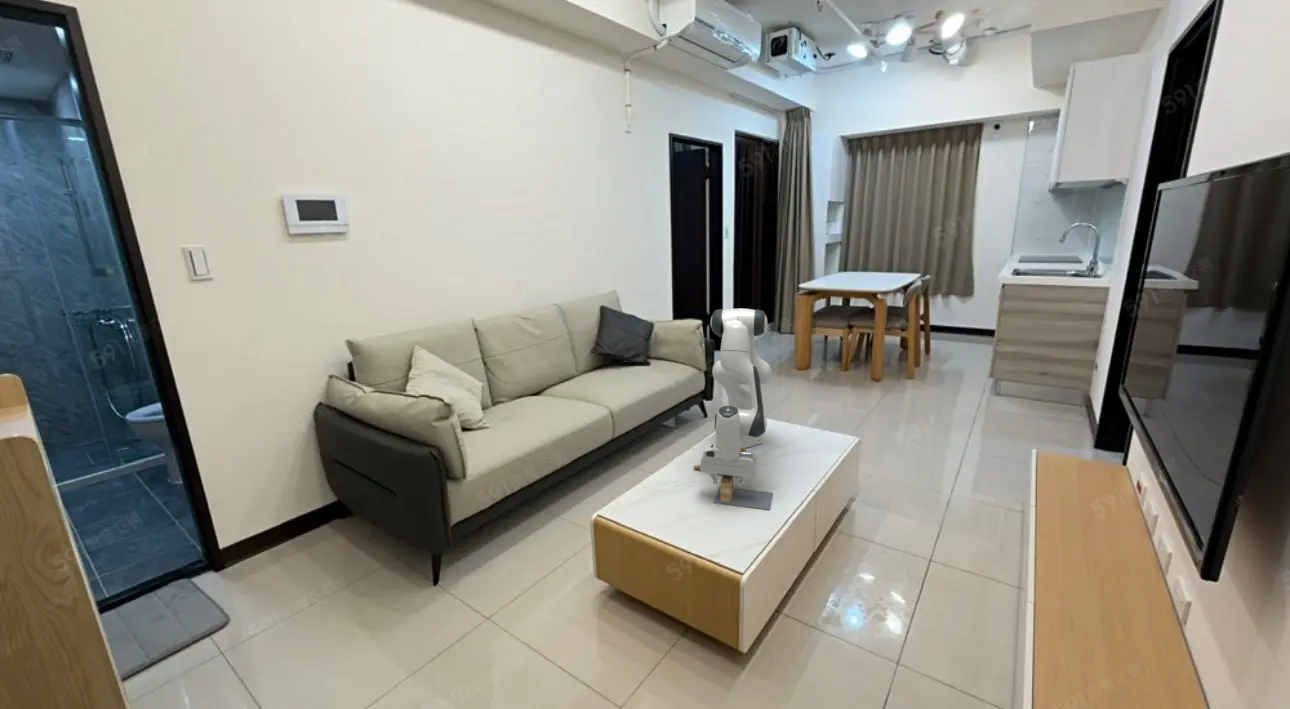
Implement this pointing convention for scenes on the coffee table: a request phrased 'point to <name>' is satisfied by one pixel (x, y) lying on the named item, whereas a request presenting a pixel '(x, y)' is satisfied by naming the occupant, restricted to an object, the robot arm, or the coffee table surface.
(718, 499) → the mat
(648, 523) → the coffee table surface
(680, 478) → the coffee table surface
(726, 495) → the slab
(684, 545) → the coffee table surface
